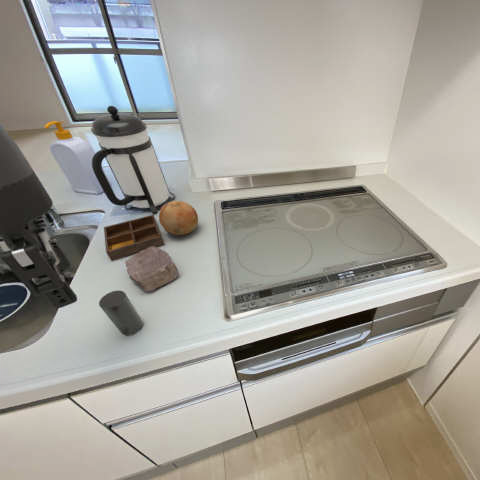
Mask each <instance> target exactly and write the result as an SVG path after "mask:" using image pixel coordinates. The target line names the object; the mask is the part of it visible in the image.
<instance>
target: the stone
mask: <svg viewBox="0 0 480 480" xmlns="http://www.w3.org/2000/svg"><path fill="white" fill-rule="evenodd" d="M124 264H125V266H126V271H127V274H128V275H129V279H130V280H131V281H133V282H134V283H135V284H136V285H138V286H139V287H140V290H144V291H145V292H152V291H154V290H156V289H157V288H161V287H162V286H163V285H166V284H168V283H170V282H172V281H174V280H175V279H177V278H178V276H179V269H178V268H177V266H176V264H175V262H174V260H173V258H172V256H170V254H169V252H167V251H165V250H164V249H161V248H159V247H154V246H151V247H149V248H147V249H146V250H143V251H141V252H139V253H136V254H133V255H131V256H130V257H129V258H128V259H127V260H125V261H124Z"/></svg>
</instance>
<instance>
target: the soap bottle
mask: <svg viewBox="0 0 480 480" xmlns="http://www.w3.org/2000/svg"><path fill="white" fill-rule="evenodd" d="M62 124H66V122H65V121H59V120H58V121H57V120H52V121H49V122H47V123H46V124H45V125H44V127H43V128H44V129H49V128H50V127H52V126H55V127H56V129H57V130H55V131H54V133H53V134H54V135H55V136H56V138H57V140H56V141H54V142H52V143H51V144H50V145H49V151H50V153H51V155H52V157H53V158H54V160H55V163H57V165H58V166H59V168H60V170H61V171H62V173H63V174H64V177H65V178H66V179H67V181H68V182H69V184H70V187H72V189H73V191H74V192H75V193H79V194H89V195H97V196H98V195H101V193H103V192H104V191H103V189H102V187H101V185H100V183H99V182H98V180H97V178H96V176H95V173H94V171H93V168H92V159H93V156H94V155H95V154H96V152H95V150H94V148H93V147H92V146H91V144H90V143H88V141H86V140H84V139H83V138H81V137H78V136H73V135H72V133H71V132H70V130H69V129H64V127H63V126H62ZM102 170H103V172H104V174H105V176H106V178H107V180H108V182H109V184H110V186H111V187H112V184H111V181H110V179H109V178H108V175H107V173H106V172H105V170H104V167H102Z"/></svg>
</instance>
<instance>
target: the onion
mask: <svg viewBox="0 0 480 480" xmlns="http://www.w3.org/2000/svg"><path fill="white" fill-rule="evenodd" d="M158 220H159V223H160V225H161V227H162V228H163V230H165V232H167V233H169V234H171V235H175V236H185V235H188V234H189V233H191V232H192V231H194V230H195V228H197V226H198V224H199V215H198V213H197V210H196V209H195V208H194V207H193V205H191V204H190V203H188V202H185V201H183V200H172V201H168V202H167V203H165V204H163V205H162V206H161V208H160V210H159V214H158Z"/></svg>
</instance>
